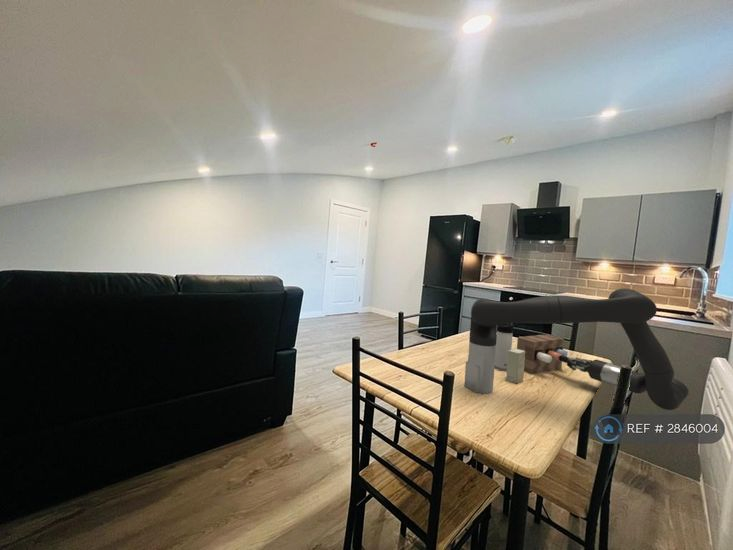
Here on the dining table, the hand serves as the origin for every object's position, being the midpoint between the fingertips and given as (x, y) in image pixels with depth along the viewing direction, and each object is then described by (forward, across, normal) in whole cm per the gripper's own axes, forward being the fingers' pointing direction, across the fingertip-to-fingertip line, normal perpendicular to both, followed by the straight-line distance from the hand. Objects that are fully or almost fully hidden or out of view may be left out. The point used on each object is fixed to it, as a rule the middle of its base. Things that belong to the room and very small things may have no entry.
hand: (560, 357), depth 123 cm
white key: (+2, +7, +2) cm, 7 cm away
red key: (+2, 0, +2) cm, 3 cm away
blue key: (+4, -7, +2) cm, 9 cm away
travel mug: (+14, +17, +8) cm, 23 cm away
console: (+9, 0, +8) cm, 12 cm away
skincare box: (+3, +23, +8) cm, 25 cm away
